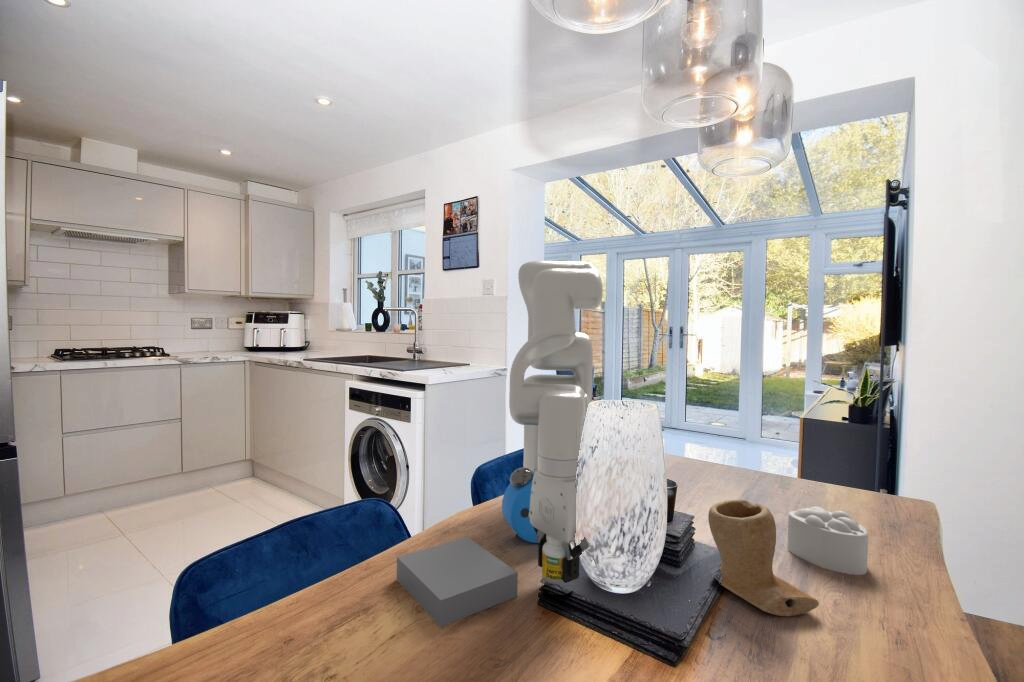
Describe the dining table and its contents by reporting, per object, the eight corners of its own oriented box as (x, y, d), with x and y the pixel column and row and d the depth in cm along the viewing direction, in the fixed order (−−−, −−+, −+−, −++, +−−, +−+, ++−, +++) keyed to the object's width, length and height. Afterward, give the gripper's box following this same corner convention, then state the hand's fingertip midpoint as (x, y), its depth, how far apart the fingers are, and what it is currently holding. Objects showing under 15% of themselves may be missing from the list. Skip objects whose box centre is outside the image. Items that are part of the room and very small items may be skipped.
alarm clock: (557, 527, 106) (558, 459, 105) (570, 539, 100) (572, 467, 99) (500, 536, 101) (501, 465, 100) (511, 549, 95) (512, 474, 95)
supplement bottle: (573, 581, 84) (574, 526, 83) (574, 598, 78) (575, 540, 78) (542, 579, 84) (543, 524, 84) (541, 596, 79) (542, 538, 79)
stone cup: (691, 578, 85) (693, 494, 85) (745, 568, 89) (748, 488, 89) (760, 630, 71) (763, 529, 70) (820, 616, 75) (824, 520, 74)
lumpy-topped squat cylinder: (816, 540, 102) (817, 499, 101) (882, 569, 90) (884, 523, 89) (779, 547, 98) (781, 505, 98) (843, 579, 86) (845, 531, 86)
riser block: (466, 557, 92) (466, 536, 92) (517, 596, 79) (517, 572, 79) (396, 579, 83) (396, 556, 83) (440, 627, 71) (440, 600, 70)
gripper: (511, 456, 85) (510, 557, 86) (580, 483, 72) (577, 603, 72) (544, 450, 90) (542, 546, 90) (614, 474, 76) (612, 588, 77)
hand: (558, 570), depth 81 cm, fingers closed on supplement bottle, 5 cm apart
